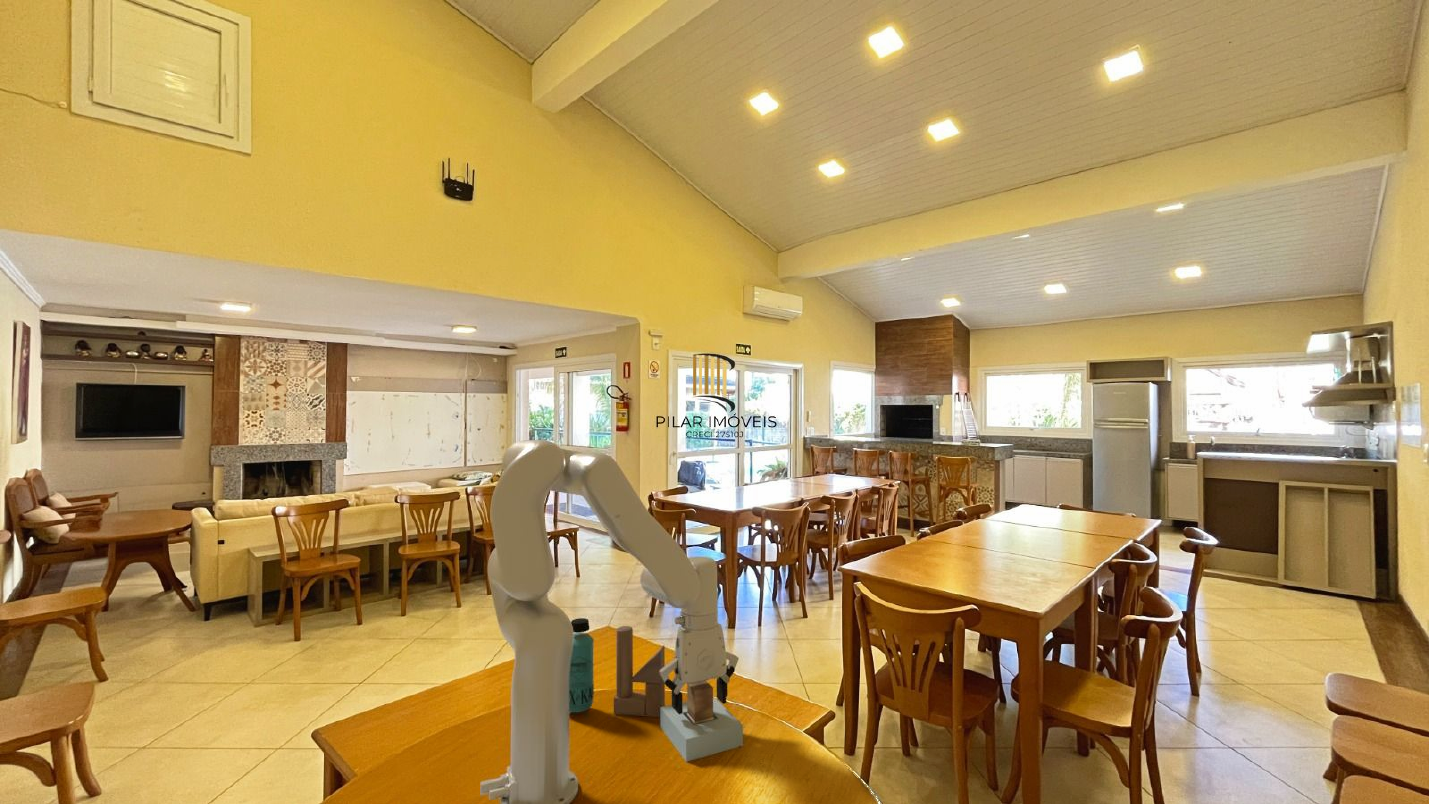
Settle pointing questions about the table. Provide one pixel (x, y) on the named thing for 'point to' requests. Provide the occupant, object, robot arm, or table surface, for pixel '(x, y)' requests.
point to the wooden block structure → (637, 679)
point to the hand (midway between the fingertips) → (700, 706)
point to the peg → (699, 702)
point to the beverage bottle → (581, 668)
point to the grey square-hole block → (701, 732)
